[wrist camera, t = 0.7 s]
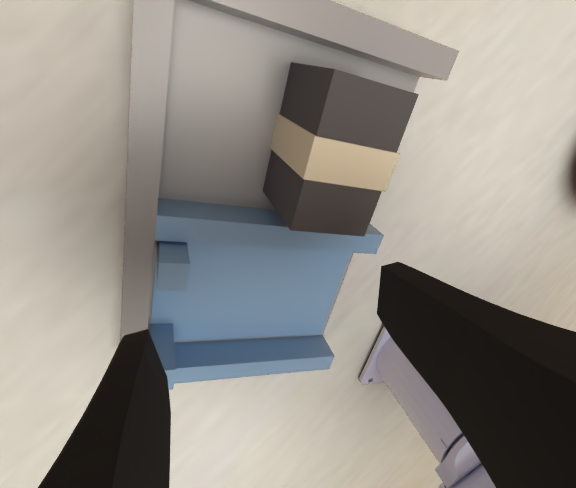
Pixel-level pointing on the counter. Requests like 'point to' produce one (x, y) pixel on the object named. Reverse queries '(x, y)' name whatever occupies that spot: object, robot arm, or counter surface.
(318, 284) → the board
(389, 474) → the counter surface
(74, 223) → the counter surface
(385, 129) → the dark striped block
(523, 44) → the counter surface
